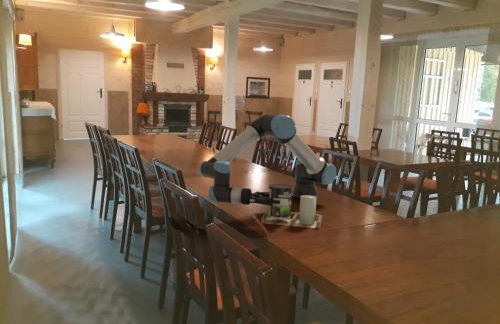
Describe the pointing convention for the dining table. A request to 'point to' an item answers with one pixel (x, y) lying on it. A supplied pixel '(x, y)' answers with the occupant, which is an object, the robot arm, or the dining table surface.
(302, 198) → the sage jar
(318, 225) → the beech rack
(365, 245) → the dining table surface
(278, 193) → the coffee can
